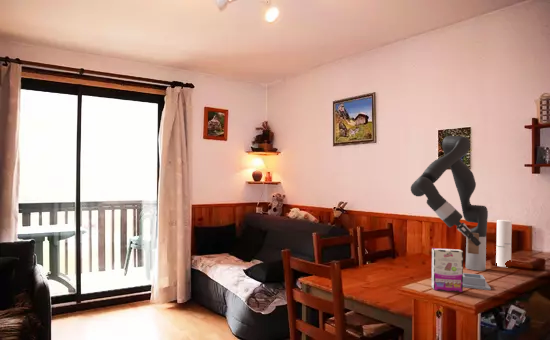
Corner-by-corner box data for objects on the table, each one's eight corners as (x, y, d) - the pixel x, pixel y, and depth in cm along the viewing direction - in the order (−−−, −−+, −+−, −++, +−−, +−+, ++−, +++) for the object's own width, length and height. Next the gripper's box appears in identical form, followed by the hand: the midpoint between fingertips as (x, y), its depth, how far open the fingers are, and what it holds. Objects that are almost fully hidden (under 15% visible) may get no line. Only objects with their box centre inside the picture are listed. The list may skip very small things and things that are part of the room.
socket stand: (456, 280, 176) (456, 271, 176) (485, 283, 172) (486, 274, 172) (458, 286, 165) (458, 277, 165) (490, 290, 160) (490, 280, 161)
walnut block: (467, 251, 171) (467, 232, 172) (477, 252, 170) (477, 233, 170) (468, 253, 167) (468, 233, 168) (478, 254, 166) (479, 234, 166)
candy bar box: (459, 289, 160) (460, 249, 161) (463, 292, 155) (463, 251, 156) (430, 287, 162) (431, 247, 163) (433, 290, 157) (434, 249, 158)
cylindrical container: (513, 267, 211) (513, 221, 212) (498, 266, 212) (499, 220, 213) (508, 265, 218) (508, 220, 218) (494, 264, 219) (494, 219, 220)
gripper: (456, 209, 165) (488, 240, 161) (453, 207, 179) (482, 236, 174) (442, 220, 167) (473, 252, 162) (440, 218, 180) (469, 247, 176)
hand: (478, 243), depth 168 cm, fingers closed on walnut block, 4 cm apart
